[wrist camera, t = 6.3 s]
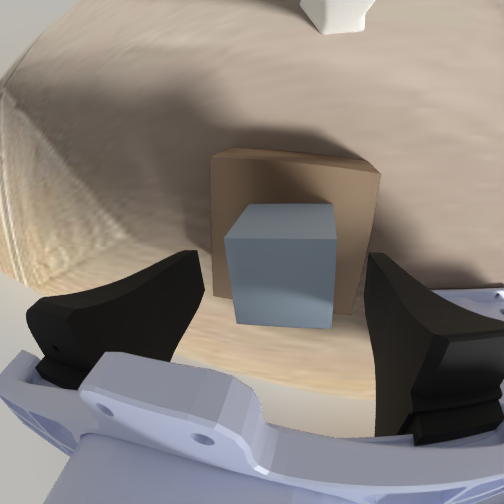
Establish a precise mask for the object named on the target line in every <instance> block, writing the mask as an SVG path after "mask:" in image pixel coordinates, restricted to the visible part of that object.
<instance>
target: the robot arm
mask: <svg viewBox="0 0 504 504" xmlns="http://www.w3.org/2000/svg"><path fill="white" fill-rule="evenodd" d="M204 291H205V288H204V283H203V278H202V273H201V267H200V262H199V257H198V252H197V250H184V251H181V252H178V253H176V254H174V255H172V256H169V257H167V258H165V259H163V260H161V261H159V262H158V263H156V264H154V265H152V266H150V267H148V268H145V269H143V270H141V271H139V272H137V273H135V274H133V275H131V276H128V277H126V278H124V279H121V280H119V281H116V282H113V283H110V284H108V285H104V286H101V287H97V288H94V289H91V290H87V291H82V292H78V293H72V294H67V295H59V296H50V297H43V298H41V299H39V300H38V301H37V302H36V303H35V304H34V305H33V306H31V307H30V308H29V309H28V310H27V312H26V320H27V324H28V327H29V329H30V331H31V333H32V335H33V337H34V338H35V340H36V342H37V343H38V345H39V347H40V348H41V350H42V352H43V354H44V355H45V356H44V358H43V359H42V360H40V359H39V358H38V357H37V356H35V355H33V354H31V353H29V352H27V351H25V350H22V351H21V352H20V353H19V354H18V355H17V356H16V357H15V358H14V359H13V360H12V361H11V363H10V364H9V365H8V366H7V367H6V368H5V369H4V371H2V373H1V374H0V398H1V399H2V400H3V401H4V402H5V403H6V405H7V406H8V407H9V408H10V409H11V410H12V412H13V413H14V414H15V415H16V416H17V417H18V418H19V419H20V420H21V421H22V422H23V423H24V424H25V425H26V426H28V427H29V428H30V429H32V430H33V431H34V432H36V433H37V434H38V435H40V436H41V437H42V438H44V439H45V440H47V441H48V442H49V443H51V444H52V445H54V446H55V447H57V448H58V449H60V450H61V451H62V452H64V453H65V454H67V455H68V456H70V459H69V461H68V462H67V464H66V466H65V467H64V469H63V471H62V472H61V474H60V476H59V477H58V479H57V481H56V482H55V484H54V486H53V488H52V489H51V491H50V493H49V495H48V496H47V498H46V500H45V502H44V503H43V504H504V288H486V289H456V290H430V289H428V288H427V287H425V286H424V285H422V284H421V283H420V282H418V281H417V280H416V279H414V278H413V277H412V276H410V275H409V274H408V273H407V272H406V271H404V270H403V269H402V268H401V267H400V266H398V265H397V264H396V263H395V262H394V261H393V260H392V259H390V258H389V257H388V256H387V255H385V254H384V253H369V255H368V265H367V274H366V283H365V291H364V304H365V315H366V320H367V325H368V330H369V335H370V340H371V345H372V350H373V356H374V363H375V377H376V419H375V437H366V438H334V437H329V436H323V435H318V434H313V433H309V432H304V431H299V430H295V429H291V428H287V427H282V426H279V425H275V424H271V423H267V422H265V421H264V418H263V411H262V404H261V402H260V401H259V399H258V397H257V396H256V394H255V392H254V390H253V389H252V388H251V387H249V386H247V385H246V384H244V383H243V382H241V381H240V380H238V379H237V378H235V377H234V376H232V375H228V374H225V373H222V372H218V371H215V370H212V369H206V368H200V367H194V366H188V365H182V364H176V363H171V362H170V361H171V358H172V356H173V353H174V351H175V349H176V347H177V345H178V343H179V341H180V340H181V338H182V336H183V334H184V333H185V331H186V329H187V327H188V326H189V324H190V322H191V320H192V319H193V317H194V315H195V313H196V311H197V309H198V308H199V305H200V302H201V300H202V297H203V294H204ZM496 294H497V295H496ZM495 295H496V296H495Z"/></svg>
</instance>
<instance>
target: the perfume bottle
mask: <svg viewBox="0 0 504 504" xmlns="http://www.w3.org/2000/svg"><path fill="white" fill-rule="evenodd" d="M374 2H375V0H301V1H300V4H299V5H300V7H301V8H302V9H303V11H304V12H305V13H306V14H307V16H308V17H309V18H310V20H311V21H312V22H313V24H314V25H315V26H316V28H317V29H318V31H319V32H320V33H321V34H323V35H327V34H336V33H347V32H360V31H363V30H364V27H365V13H366V12H367V10H368V9H369V8H370V7H371V5H372V4H373V3H374Z"/></svg>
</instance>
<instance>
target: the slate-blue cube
mask: <svg viewBox="0 0 504 504" xmlns="http://www.w3.org/2000/svg"><path fill="white" fill-rule="evenodd" d="M224 243H225V250H226V257H227V263H228V270H229V277H230V283H231V290H232V297H233V303H234V309H235V316H236V322H237V324H247V325H260V326H276V327H295V328H320V329H331V326H332V314H333V302H334V287H335V271H336V248H337V236H336V226H335V217H334V209H333V204H249V205H248V206H247V207H246V209H245V210H244V211H243V213H242V214H241V216H240V217H239V218H238V220H237V221H236V222H235V224H234V225H233V226H232V228H231V229H230V230H229V232H228V233H227V235H226V236H225V237H224Z"/></svg>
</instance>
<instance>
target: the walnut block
mask: <svg viewBox="0 0 504 504" xmlns="http://www.w3.org/2000/svg"><path fill="white" fill-rule="evenodd" d="M380 177H381V174H380V173H379V172H378V171H377V170H376V169H375V168H374V167H373V166H372V165H371V164H370V163H369V162H368V161H363V160H357V159H350V158H343V157H335V156H328V155H319V154H311V153H301V152H291V151H279V150H266V149H250V148H229V149H227V150H224V151H222V152H220V153H218V154H215V155H213V156H211V157H210V206H211V246H212V274H213V296H216V297H222V298H228V299H233V297H232V290H231V283H230V277H229V270H228V263H227V257H226V250H225V243H224V237H225V236H226V235H227V233H228V232H229V230H230V229H231V228H232V226H233V225H234V224H235V222H236V221H237V220H238V218H239V217H240V216H241V214H242V213H243V211H244V210H245V209H246V207H247V206H248V205H249V204H333V209H334V217H335V226H336V236H337V248H336V271H335V287H334V302H333V313H336V314H344V315H351V312H352V308H353V305H354V301H355V297H356V294H357V290H358V286H359V282H360V278H361V274H362V270H363V266H364V261H365V257H366V253H367V248H368V244H369V239H370V234H371V229H372V224H373V219H374V213H375V208H376V202H377V196H378V190H379V184H380Z"/></svg>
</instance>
